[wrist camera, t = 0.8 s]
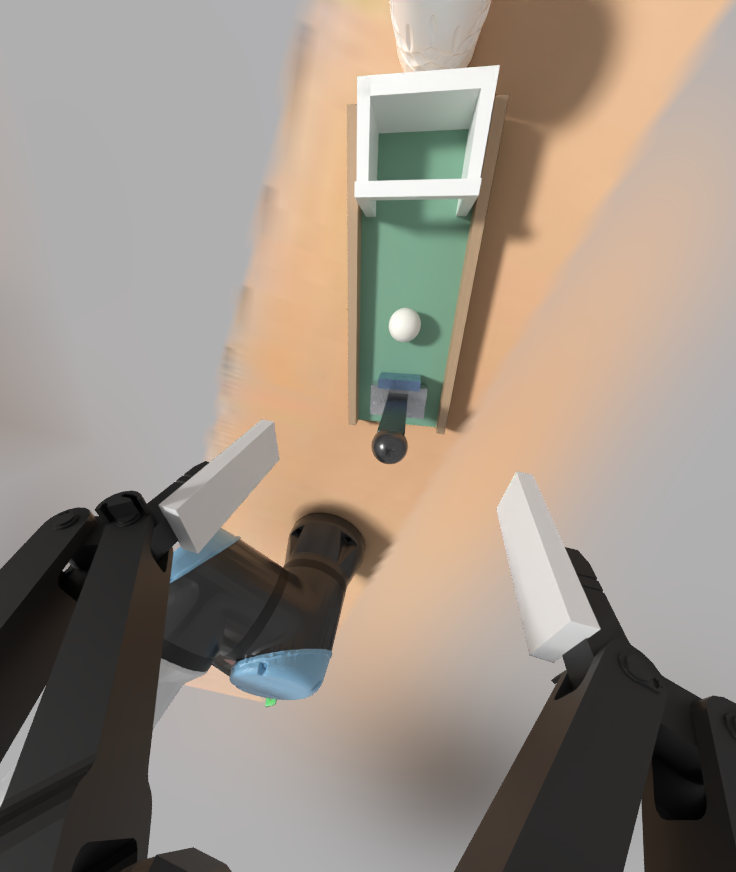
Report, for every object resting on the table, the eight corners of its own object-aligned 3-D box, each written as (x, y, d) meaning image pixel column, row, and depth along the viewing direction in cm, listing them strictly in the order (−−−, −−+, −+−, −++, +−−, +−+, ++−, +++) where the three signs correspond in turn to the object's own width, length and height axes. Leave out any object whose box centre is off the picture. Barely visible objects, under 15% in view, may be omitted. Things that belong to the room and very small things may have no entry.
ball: (418, 341, 31) (418, 345, 28) (389, 339, 32) (386, 343, 29) (422, 307, 30) (423, 308, 26) (391, 306, 30) (388, 307, 27)
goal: (466, 216, 25) (478, 195, 20) (366, 217, 27) (354, 197, 22) (483, 111, 22) (503, 55, 17) (368, 118, 23) (355, 67, 18)
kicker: (423, 413, 35) (427, 480, 22) (372, 408, 36) (347, 470, 23) (428, 375, 33) (436, 425, 20) (373, 371, 34) (346, 416, 21)
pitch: (442, 424, 37) (444, 434, 34) (353, 416, 39) (348, 424, 36) (498, 117, 23) (509, 93, 20) (354, 125, 24) (346, 104, 22)
